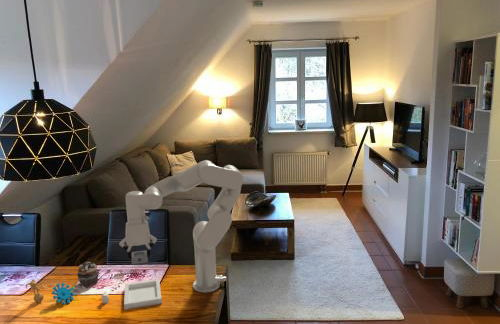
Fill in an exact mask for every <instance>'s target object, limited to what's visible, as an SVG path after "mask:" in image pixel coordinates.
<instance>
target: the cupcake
mask: <svg viewBox="0 0 500 324" xmlns="http://www.w3.org/2000/svg"><path fill="white" fill-rule="evenodd" d="M78 267H79V268H78V270H77V279H78V282H79V284H80V287H83V288H88V287H92V285H93V286H95V285H97V283H98V281H99V268H97V266H96V264H95V263H94V262H90V260H89V261H85V262H83V263H81V264H80V265H78ZM94 284H95V285H94Z"/></svg>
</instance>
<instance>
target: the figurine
mask: <svg viewBox="0 0 500 324" xmlns="http://www.w3.org/2000/svg"><path fill="white" fill-rule="evenodd" d="M28 286H29V287H30V289H31V290H33V294H34V296H33V301H34V302H35V303H40V302H42V301H43V300H44V293H41V292H40V288H42V289H45V287H44V286H42V285H41V284H39V283H36V282H35V278H33V279H31V281H30V282H28V283H26V284H25V289H28Z"/></svg>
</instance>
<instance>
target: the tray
mask: <svg viewBox="0 0 500 324" xmlns="http://www.w3.org/2000/svg"><path fill="white" fill-rule="evenodd" d="M161 291H162V289H161V282H160V278H155V279H149V280H143V281H137V282H128V283H124V297H123V298H124V299H123V301H124V302H123V306H124V310H131V309H137V308H143V307H149V306H155V305H160V304H163V302H162V294H161V293H162V292H161Z"/></svg>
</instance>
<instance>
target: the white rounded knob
mask: <svg viewBox="0 0 500 324" xmlns="http://www.w3.org/2000/svg"><path fill="white" fill-rule="evenodd" d="M101 301H102V304H109V302H110V296H109V293H108V292H107V291H103V293H102V294H101Z"/></svg>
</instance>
